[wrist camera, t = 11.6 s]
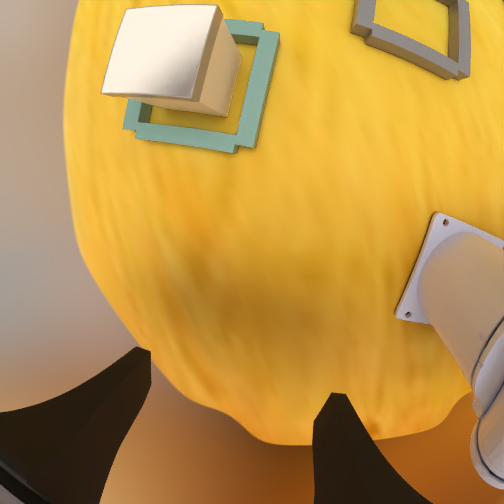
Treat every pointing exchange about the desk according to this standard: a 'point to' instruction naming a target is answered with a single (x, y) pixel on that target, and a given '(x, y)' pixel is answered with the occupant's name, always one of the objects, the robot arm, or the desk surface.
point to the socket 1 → (252, 106)
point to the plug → (174, 59)
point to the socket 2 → (414, 50)
